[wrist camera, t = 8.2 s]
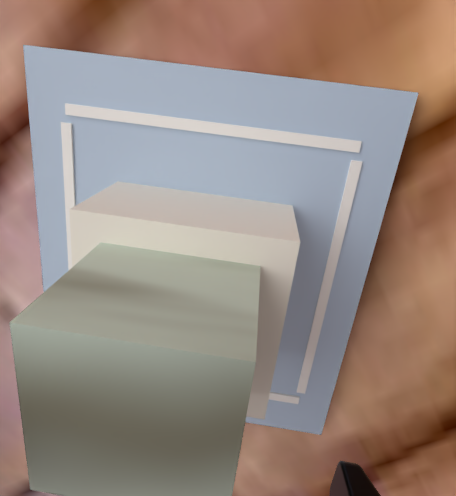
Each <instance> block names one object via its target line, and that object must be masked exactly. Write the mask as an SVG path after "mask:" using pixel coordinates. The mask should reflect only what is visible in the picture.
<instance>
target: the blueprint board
mask: <svg viewBox="0 0 456 496" xmlns="http://www.w3.org/2000/svg"><path fill="white" fill-rule="evenodd" d="M23 48H24V60H25V72H26V84H27V97H28V109H29V121H30V133H31V145H32V157H33V169H34V181H35V193H36V205H37V217H38V229H39V241H40V254H41V266H42V278H43V290H44V292H45V291H46V290H47V289H48V288H49V287H51V286H52V285H53V284H54V283H55V282H56V281H57V280H59V279H60V278H61V277H62V276H63V275H64V274H65V273H66V272H68V271H69V270H70V269H71V268H72V267H73V266H74V265H76V264H77V263H78V262H79V261H80V260H81V259H82V258H84V257H85V256H86V255H87V254H88V253H89V252H90V251H92V250H93V249H94V248H95V247H96V246H97V245H98V244H99V243H101V242H102V243H109V244H116V245H122V246H129V247H136V248H143V249H149V250H156V251H163V252H170V253H176V254H183V255H190V256H197V257H203V258H210V259H217V260H224V261H230V262H237V263H244V264H250V265H257V266H261V268H260V289H259V309H258V330H257V350H256V364H255V370H254V376H253V381H252V387H251V392H250V398H249V403H248V409H247V415H246V420H245V422H247V423H253V424H259V425H265V426H271V427H277V428H283V429H289V430H295V431H301V432H307V433H313V434H319V435H321V434H322V430H323V427H324V423H325V420H326V416H327V413H328V409H329V406H330V402H331V399H332V395H333V392H334V388H335V385H336V381H337V378H338V374H339V370H340V367H341V363H342V360H343V356H344V353H345V349H346V346H347V342H348V339H349V335H350V332H351V328H352V325H353V321H354V318H355V314H356V311H357V307H358V304H359V300H360V297H361V293H362V290H363V286H364V283H365V279H366V276H367V272H368V269H369V265H370V262H371V258H372V255H373V251H374V248H375V244H376V241H377V237H378V234H379V230H380V227H381V223H382V220H383V216H384V212H385V209H386V205H387V202H388V198H389V195H390V191H391V188H392V184H393V181H394V177H395V174H396V170H397V167H398V163H399V160H400V156H401V153H402V149H403V146H404V142H405V139H406V135H407V132H408V128H409V125H410V121H411V118H412V114H413V111H414V107H415V104H416V100H417V97H418V93H416V92H408V91H400V90H392V89H384V88H375V87H367V86H359V85H351V84H342V83H334V82H326V81H318V80H309V79H301V78H293V77H285V76H276V75H268V74H260V73H252V72H243V71H235V70H227V69H219V68H210V67H202V66H194V65H186V64H177V63H169V62H161V61H153V60H144V59H136V58H128V57H120V56H111V55H103V54H95V53H87V52H78V51H70V50H62V49H54V48H45V47H37V46H29V45H23Z"/></svg>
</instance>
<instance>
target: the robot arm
mask: <svg viewBox="0 0 456 496" xmlns="http://www.w3.org/2000/svg"><path fill="white" fill-rule="evenodd" d="M330 496H381V495H380V494H379V493H378V491H377V490H376V488H375V487H374V485H373V484H372V482H371V481H370V479H369V478H368V476H367V475H366V473H365V472H364V471H363V469H362V468H361V467H360V466H359V465H358V464H356V463H350V462H345V461H340V462H339V463H338V465H337V468H336V471H335V474H334V477H333V480H332V483H331V487H330Z"/></svg>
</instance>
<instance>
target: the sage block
mask: <svg viewBox="0 0 456 496" xmlns="http://www.w3.org/2000/svg"><path fill="white" fill-rule="evenodd" d="M260 268H261V266H257V265H250V264H244V263H237V262H230V261H224V260H217V259H210V258H203V257H197V256H190V255H183V254H176V253H170V252H163V251H156V250H149V249H143V248H136V247H129V246H122V245H116V244H109V243H102V242H101V243H99V244H98V245H97V246H96V247H95V248H94V249H93V250H92V251H90V252H89V253H88V254H87V255H86V256H85V257H84V258H82V259H81V260H80V261H79V262H78V263H77V264H76V265H74V266H73V267H72V268H71V269H70V270H69V271H68V272H66V273H65V274H64V275H63V276H62V277H61V278H60V279H59V280H57V281H56V282H55V283H54V284H53V285H52V286H51V287H49V288H48V289H47V290H46V291H45V292H44V293H43V294H41V295H40V296H39V297H38V298H37V299H36V300H35V301H33V302H32V303H31V304H30V305H29V306H28V307H27V308H26V309H24V310H23V311H22V312H21V313H20V314H19V315H18V316H16V317H15V318H14V319H13V320H12V321H11V322H10V330H11V338H12V347H13V355H14V363H15V371H16V379H17V387H18V395H19V403H20V411H21V419H22V427H23V435H24V443H25V451H26V459H27V467H28V475H29V484H30V490H35V491H40V492H46V493H51V494H57V495H62V496H232V492H233V487H234V481H235V476H236V470H237V465H238V459H239V453H240V448H241V442H242V437H243V431H244V426H245V420H246V415H247V409H248V403H249V398H250V392H251V387H252V381H253V376H254V370H255V364H256V350H257V330H258V309H259V289H260Z"/></svg>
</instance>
